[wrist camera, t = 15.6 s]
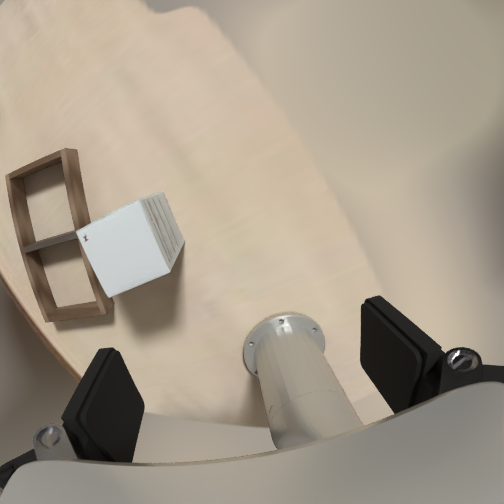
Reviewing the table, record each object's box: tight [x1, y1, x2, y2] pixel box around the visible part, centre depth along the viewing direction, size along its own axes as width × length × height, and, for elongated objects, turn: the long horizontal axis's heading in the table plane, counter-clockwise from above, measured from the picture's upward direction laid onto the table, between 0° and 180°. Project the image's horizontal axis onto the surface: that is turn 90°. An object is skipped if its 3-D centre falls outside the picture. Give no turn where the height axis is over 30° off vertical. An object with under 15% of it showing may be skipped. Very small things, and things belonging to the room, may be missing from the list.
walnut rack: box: [5, 148, 114, 322], centre depth 33 cm, size 22×12×4 cm, turn 10°
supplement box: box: [76, 191, 185, 298], centre depth 30 cm, size 7×7×13 cm
